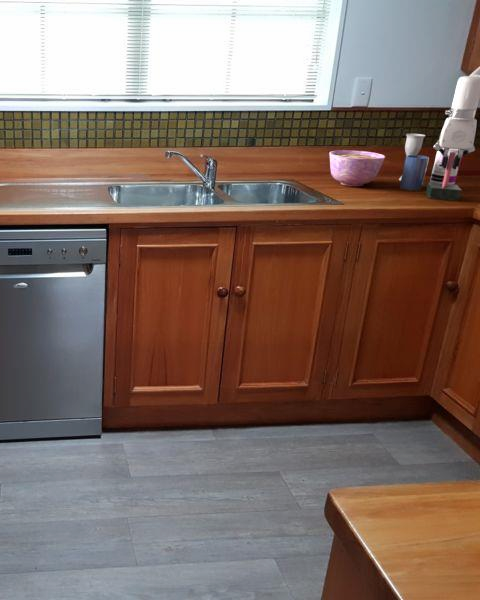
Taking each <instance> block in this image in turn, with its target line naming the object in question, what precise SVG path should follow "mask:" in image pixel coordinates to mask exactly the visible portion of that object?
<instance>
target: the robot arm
mask: <svg viewBox="0 0 480 600" xmlns="http://www.w3.org/2000/svg"><path fill="white" fill-rule="evenodd" d="M479 101H480V66H479V67H477V68H476V69H475V70H474V71H473V72H471V74H469V75H463V76H460V77H459V78H458V80H457V83H456V86H455V91H454V95H453V99H452V103H451V107H450V109H447V110H445V112H444V114H445V115H448V117H447V118H446V119H445V120H444V123H443V126H442V129H441V132H440V134H439V138H438V140H437V141H436V143H435V144H434V145H433V149H434V150H435V151H439V152H440V153H441V154H442V155H443V159H442V163H441V166H442V167H443V169H445V168H446V166H447V162H448V152H449V149H450V148H451V149H458V152H457V155H456V157H455V158H454V162H453V166H452V168H453V169H456V167H458V166H459V167H460V164H459V162H460V163H461V160H460V158H461V159H462V158H463V157H464V156H466V155H467V154H469V153H470V154H471V153H472V152H475V151H476V148H475V145H474V142H475V138H476V131H477V124H478V123H477V121H478V120H477V119H476V118H475V117H476V114H477V108H478V105H479ZM441 147H442V148H444V150H443V149H442V148H441Z"/></svg>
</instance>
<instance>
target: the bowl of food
mask: <svg viewBox="0 0 480 600" xmlns="http://www.w3.org/2000/svg"><path fill="white" fill-rule="evenodd" d="M385 159H386V156H385V155H384V154H381V153H377V152H371V151H364V150H351V149H350V150H349V149H347V150H346V149H342V150H332V151H330V152H329V167H330V168H329V169H330V174H331V176H332V178H333V179H334V180H336V181H337V182H339V183H340V185H343V186H348V187H363V186H364V185H366V184H369V183H371V182H373V181H374V180H375V179H376V177H377V175H378V174H379V172H380V169H381V167H382V165H383V163H384V161H385Z"/></svg>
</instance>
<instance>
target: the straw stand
mask: <svg viewBox="0 0 480 600" xmlns="http://www.w3.org/2000/svg"><path fill="white" fill-rule="evenodd" d="M462 191H463V189H461V188H460V187H459V185H458V184H454V185H451V184H448V185H447V187H442V184H438V183H430V182H427V185H426V189H425V194H426V196H427V198H428V199H429V200H438V201H450V202H460V200H461V199H460V198H461V195H462Z"/></svg>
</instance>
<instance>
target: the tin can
mask: <svg viewBox="0 0 480 600" xmlns="http://www.w3.org/2000/svg"><path fill="white" fill-rule="evenodd" d="M429 160H430V157H429V156H426V155H418V154H417V155H406V156H405V159H404V163H403V164H404V165H403V169H402V174H401V176H402V177H401V176H400V177H401V180H400V183H399V188H400V189H401V188H403V189H402V190H405V189H408V190H407V191H412V190H419V191H422V190H421V189H423V186H424V181H425V177H426V172H427V169H428V166H429V165H428V164H429Z"/></svg>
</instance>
